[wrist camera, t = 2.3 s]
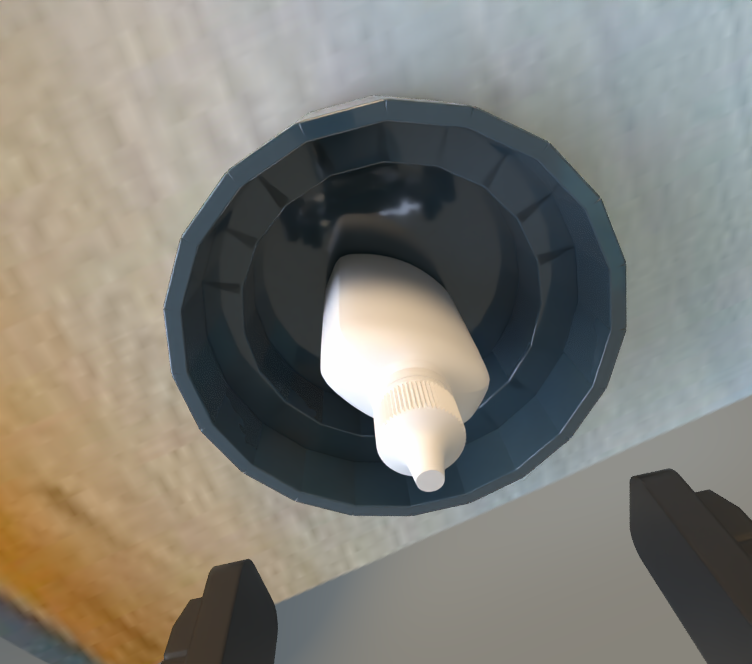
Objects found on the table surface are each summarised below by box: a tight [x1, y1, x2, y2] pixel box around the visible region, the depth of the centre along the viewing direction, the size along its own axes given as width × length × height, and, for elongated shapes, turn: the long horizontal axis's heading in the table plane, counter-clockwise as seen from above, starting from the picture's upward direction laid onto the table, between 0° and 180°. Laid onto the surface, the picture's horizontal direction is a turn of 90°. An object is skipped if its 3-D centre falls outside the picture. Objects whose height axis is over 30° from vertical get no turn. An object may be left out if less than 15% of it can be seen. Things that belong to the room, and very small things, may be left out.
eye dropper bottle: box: [320, 254, 490, 492], centre depth 17 cm, size 4×6×12 cm
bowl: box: [163, 95, 626, 516], centre depth 20 cm, size 16×16×6 cm
